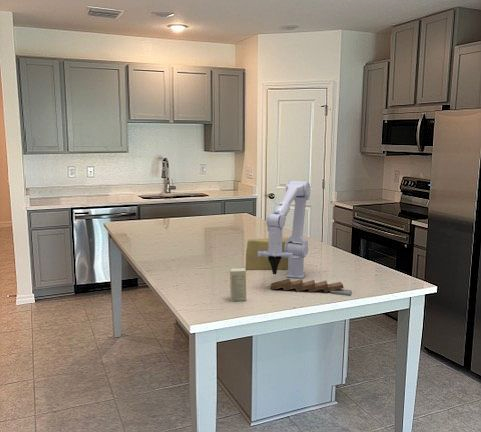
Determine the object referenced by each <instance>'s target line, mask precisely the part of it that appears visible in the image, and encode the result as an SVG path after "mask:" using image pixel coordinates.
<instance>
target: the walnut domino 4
mask: <svg viewBox="0 0 481 432" xmlns="http://www.w3.org/2000/svg"><path fill="white" fill-rule="evenodd" d="M325 288H328V281H327V280H323V281H319V282H315V287H313V288H309V289H307V290H308V292H309V293H312V292H317V291H320V290H323V289H325Z"/></svg>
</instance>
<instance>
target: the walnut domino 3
mask: <svg viewBox="0 0 481 432" xmlns="http://www.w3.org/2000/svg"><path fill="white" fill-rule="evenodd" d="M315 283H316V282H315V280H314V279H313V280H312V279H311V280H308V281H305V282H303V286H301V287H297V288H294V289H295V291H296V293H297V292H300V291H304V290H308V289H309V288H313V287H315Z"/></svg>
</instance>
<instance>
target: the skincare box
mask: <svg viewBox="0 0 481 432" xmlns="http://www.w3.org/2000/svg"><path fill="white" fill-rule="evenodd" d="M229 274H230V275H229V277H230V279H229V280H230V283H229V285H230V286H229V287H230V301H231V302H237V301H238V302H243V301H247V270H246V267H241V268H230V269H229Z"/></svg>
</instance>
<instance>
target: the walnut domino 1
mask: <svg viewBox="0 0 481 432" xmlns="http://www.w3.org/2000/svg"><path fill="white" fill-rule="evenodd" d="M291 282H292V280H291V277H288V278H286V279H283V280H282V279H281V280H278V281H275V282H272V283H271V285H270V288H271V291H273V290H278V289H281V288H282V289H283V287H286V286H290V283H291Z"/></svg>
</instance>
